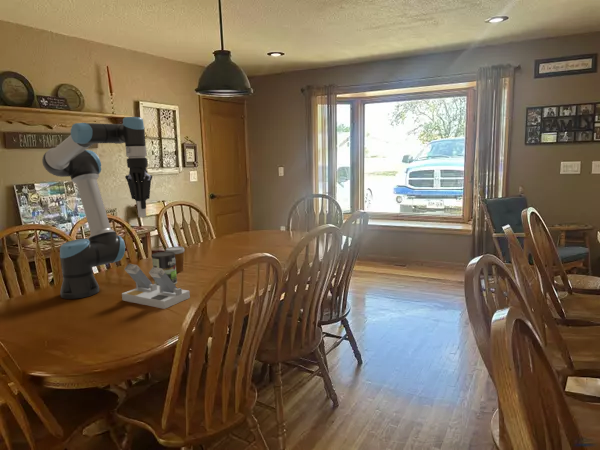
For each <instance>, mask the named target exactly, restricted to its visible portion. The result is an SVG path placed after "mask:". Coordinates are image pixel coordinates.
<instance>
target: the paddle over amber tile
mask: <svg viewBox="0 0 600 450" xmlns="http://www.w3.org/2000/svg"><path fill="white" fill-rule="evenodd" d="M124 271H125V272H126V273H127V274H128V275H129V276H130V278H131V279H132V280H133V281H134V282H135V284H136V283H137V284H138V286H139V287H141V288H146V289H149V288H151V287H150V285H153V284H154V283H153V282H152V281H151V280H150V279H149V278H148V276H147V275H146V274H145V273H144V272H143V270H142V269H141V267H139V265H138V264H132V263H127V265H126V266H125V267H124Z"/></svg>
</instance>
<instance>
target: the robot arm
mask: <svg viewBox="0 0 600 450" xmlns="http://www.w3.org/2000/svg"><path fill="white" fill-rule="evenodd" d="M94 144H116V145H117V144H125V152H126V153H125V155H126V157H127V158H126V164H127V165H126V166H127V168H128V169H129V172H128V173H129V174H128V175H127V174H126V175H125V176H124V178H125V179H126V182H127V186H128V190H129V192H130V197H131V199H132V200H134V201H135V204H136V209H137V215H138V216H137V217H138V218H145V217H147V210H146V209H147V202H146V201H147V200H149V199H150V195H151V184H152V182H151V181H152V179H153V175H152V174H149V173H148V170H147V167H148V165H149V164H148V158H147V155H148V154H147V146H146V144H147V143H146V132H145V124H144V120H143V118H142V117H139V116H125V117H124V118H123V119H122V123H97V122H96V123H95V122H94V123H93V122H91V123H90V122H77V123H76V122H75V123H73V124H72V126H71V128H70V135H68V137H66V138H65V139H64V140H63V141H61V142H60V143H59V144H58V145H57V146H55V147H51V148H49V149H48V150H47V151H45V152H44V154H43V156H42V160H41V162H42V166H43V167H44V169H45V170H46V172H48V173H49V174H51V175H53V176H55V177H63V178H64V177H65V178H66V177H70V179H71V182H72V183H74V184H75V185H76V186H77V190H78V194H79V197H80V200H81V203H82V208H83V210H84V214H85V218H86V222H87V225H88V229H89V231H90V235H89V236H88V238H79V239H73V240H68V241H67V242H66V241H65V242H63V244H62V245H60V246H59V257H60V263H61V272H62V278H63V279H62V283H61V287H60V298H62V299H63V300H64V299H66V300H75V299H82V298H87V297H90V296H94V295H97V294H98V293H99V292H100V285H99V284H98V281H97V280H96V278H95V276H94V271H93V268H95V267H99V266H103V265H104V266H105V265H107V264H113V263H115V262H116V263H117V262H119V261H121V260H122V259H123V258H124V256H125V252H126V244H125V240H124V239H123V238H122V236H121V235H117V232H116V230H113V229H112V227H111V225H110V221H109V218H108V213H107V211H106V208H105V204H104V201H103V198H102V194H101V190H100V187H99V184H98V183H99V182H98V179H99V177H100V173H101V172H102V163H101V158H100V157H99V155H98V154H97V153H96V152H94V151H93V150H91V149H88V148H90V147H92V146H93V145H94Z"/></svg>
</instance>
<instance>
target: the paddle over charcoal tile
mask: <svg viewBox="0 0 600 450" xmlns="http://www.w3.org/2000/svg"><path fill="white" fill-rule="evenodd" d="M148 274H149V275H150V277H151V278H152V279H153V281H154V280H155V281H156V282H157V284H158V285H159V286H160V287H161V288H162V290H163V291H164V292H169V293H175V289H178V288H177V286H176V284H174V283H173V282H172V281H171V279H170V278H169V277H168V276H167V274H166V273H165V272H164V270H163V269H162V268H155V267H153V266H152V268H151V269H149V271H148Z"/></svg>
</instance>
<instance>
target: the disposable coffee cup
mask: <svg viewBox="0 0 600 450" xmlns="http://www.w3.org/2000/svg"><path fill="white" fill-rule="evenodd" d="M167 251H169V252H175V262H176V274H177V273H182V272H183V271H184V261H185V260H184V255H185V248H184V247H183V246H177V245H176V246H170V247H167V248H165V250H164V252H167Z"/></svg>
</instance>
